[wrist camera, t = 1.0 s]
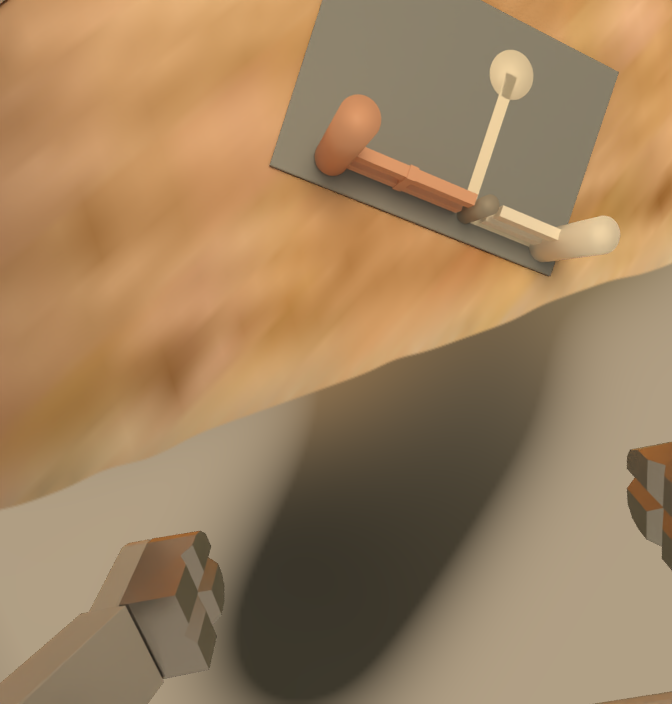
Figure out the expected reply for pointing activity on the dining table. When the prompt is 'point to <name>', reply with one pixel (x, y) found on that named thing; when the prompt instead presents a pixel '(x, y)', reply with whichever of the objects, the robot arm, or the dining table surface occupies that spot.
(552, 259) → the fixed fence section
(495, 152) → the board
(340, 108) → the hinged fence section
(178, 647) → the robot arm
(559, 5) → the dining table surface
